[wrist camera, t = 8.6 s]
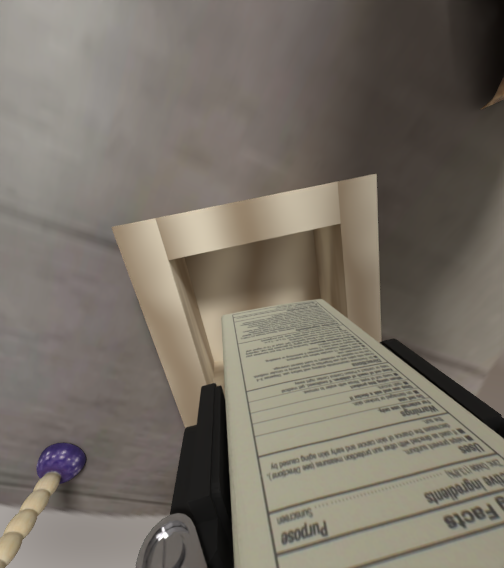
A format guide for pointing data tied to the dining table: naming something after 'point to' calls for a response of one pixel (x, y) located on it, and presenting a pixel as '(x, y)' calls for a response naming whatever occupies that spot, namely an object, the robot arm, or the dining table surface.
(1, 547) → the toy lamp
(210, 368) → the holder
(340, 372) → the skincare box
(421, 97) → the dining table surface
